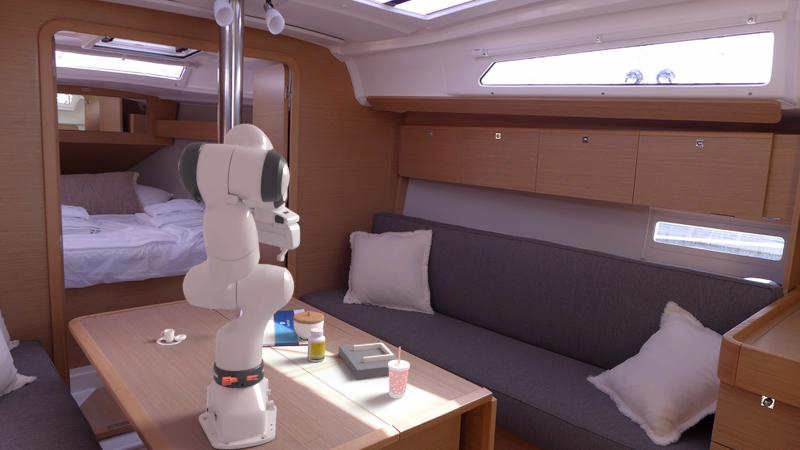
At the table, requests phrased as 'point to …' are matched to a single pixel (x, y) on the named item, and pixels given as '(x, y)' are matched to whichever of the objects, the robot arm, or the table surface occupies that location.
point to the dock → (367, 359)
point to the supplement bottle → (316, 345)
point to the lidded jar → (307, 323)
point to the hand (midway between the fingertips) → (267, 257)
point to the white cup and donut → (170, 337)
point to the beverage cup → (398, 377)
